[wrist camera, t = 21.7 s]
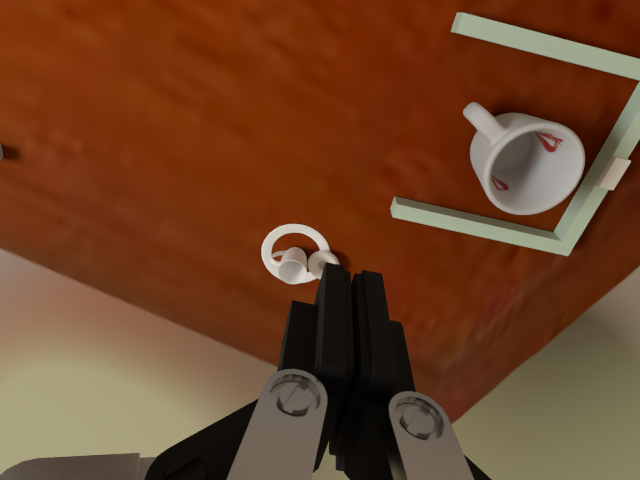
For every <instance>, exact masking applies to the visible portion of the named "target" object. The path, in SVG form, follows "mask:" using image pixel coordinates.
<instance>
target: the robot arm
mask: <svg viewBox="0 0 640 480" xmlns="http://www.w3.org/2000/svg"><path fill="white" fill-rule="evenodd" d="M328 441H329V454H330V455H335V456H336V470H339V471H344V473H345V474H346V475H347V477H348V478H349V479H350V480H491V479H490V478H489V477H488V476H487V475H486V474H485V473H484V472H483V471H481V470H480V469H479V468H478V467H477V466H476V465H475V464H474V463H473V462H472V461H471V460H469V459H468V458H467V457H466V456H465V455H464V454H463V452H462V449H461V447H460V445H459V442H458V440H457V437H456V435H455V433H454V430H453V428H452V426H451V423H450V421H449V419H448V417H447V415H446V413H445V412H444V410H443V409H442V408H441V407H440V406H439V405H438V404H437V403H436V402H435V401H433V400H432V399H431V398H429V397H427V396H425V395H423V394H421V393H417V392H416V391H415V386H414V381H413V376H412V371H411V366H410V361H409V356H408V351H407V346H406V341H405V336H404V331H403V327H402V324H401V323H400V322H396V321H391V320H389V314H388V308H387V301H386V295H385V289H384V283H383V277H382V274H380V273H375V272H371V271H366V270H363V271H362V272H361V274H357V273H355V274H354V277H353V280H352V283H351V276H350V272H347V271H344V266H342V265H338V264H333V263H328V262H326V263H325V265H324V268H323V272H322V276H321V279H320V283H319V287H318V290H317V294H316V298H315V301H314V305H313V304H308V303H303V302H298V301H293V300H292V302H291V306H290V310H289V314H288V318H287V322H286V327H285V331H284V336H283V341H282V347H281V352H280V358H279V364H278V370H277V372H276V373H274V374H273V375H272V376H271V377H269V379H268V380H267V381H266V383H265V385H264V387H263V390H262V392H261V395H260V397H259V399H257V400H255V401H253V402H252V403H250V404H248V405H246V406H244V407H243V408H241V409H239V410H237V411H236V412H233V413H232V414H230V415H228V416H226V417H225V418H223V419H221V420H219V421H217V422H215V423H214V424H212V425H210V426H208V427H206V428H204V429H203V430H201V431H199V432H198V433H195V434H194V435H192V436H190V437H188V438H186V439H185V440H183V441H181V442H179V443H177V444H176V445H174V446H172V447H170V448H169V449H167V450H165V451H164V452H163V453H161V454H160V455H159V456H157V457H150V458H140V453H129V454H111V455H91V456H72V457H54V458H37V459H32V460H27V461H23V462H21V463H19V464H17V465H15V466H13V467H11V468H9V469H7V470H6V471H5V472H3V473H2V474H1V475H0V480H311V478H312V473H313V472H315V471H316V470H317V469H318V468H319V465H320V463H321V460H322V458H323V455H324V452H325V450H326V447H327V444H328Z"/></svg>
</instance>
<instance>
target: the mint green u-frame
mask: <svg viewBox="0 0 640 480" xmlns="http://www.w3.org/2000/svg"><path fill="white" fill-rule="evenodd" d="M451 32H454V33H458V34H462V35H466V36H470V37H473V38H477V39H481V40H485V41H489V42H493V43H497V44H500V45H504V46H508V47H512V48H516V49H520V50H524V51H527V52H531V53H535V54H539V55H543V56H547V57H551V58H554V59H558V60H562V61H566V62H570V63H574V64H578V65H581V66H585V67H589V68H593V69H597V70H601V71H605V72H609V73H612V74H616V75H620V76H624V77H628V78H632V79H636V80H639V81H640V59H638V58H634V57H630V56H626V55H622V54H619V53H615V52H611V51H607V50H603V49H600V48H596V47H592V46H588V45H584V44H581V43H577V42H573V41H569V40H565V39H562V38H558V37H554V36H550V35H546V34H543V33H539V32H535V31H531V30H527V29H524V28H520V27H516V26H512V25H508V24H505V23H501V22H497V21H493V20H489V19H486V18H482V17H478V16H474V15H470V14H467V13H459V12H457V14H456V17H455V20H454V23H453V26H452V29H451ZM639 139H640V82H639V83H638V85H637V87H636V89H635V90H634V92H633V94H632V96H631V97H630V99H629V101H628V103H627V104H626V106H625V108H624V110H623V111H622V113H621V115H620V117H619V118H618V120H617V122H616V124H615V125H614V127H613V129H612V131H611V132H610V134H609V136H608V138H607V139H606V141H605V143H604V145H603V146H602V148H601V150H600V152H599V153H598V155H597V157H596V159H595V160H594V162H593V164H592V166H591V167H590V169H589V171H588V173H587V174H586V176H585V178H584V180H583V181H582V183H581V185H580V187H579V188H578V190H577V192H576V194H575V195H574V197H573V199H572V201H571V202H570V204H569V206H568V208H567V209H566V211H565V213H564V215H563V216H562V218H561V220H560V222H559V223H558V225H557V227H556V229H555V230H554V232H550V231H545V230H541V229H536V228H532V227H527V226H523V225H519V224H514V223H510V222H505V221H501V220H497V219H492V218H488V217H483V216H479V215H475V214H470V213H466V212H461V211H457V210H452V209H448V208H444V207H439V206H435V205H430V204H426V203H422V202H417V201H413V200H408V199H404V198H399V197H394V199H393V202H392V205H391V208H390V210H391V214H392V217H394V218H399V219H403V220H408V221H412V222H417V223H421V224H426V225H430V226H435V227H439V228H444V229H448V230H453V231H457V232H462V233H466V234H471V235H475V236H480V237H484V238H489V239H493V240H498V241H502V242H507V243H511V244H516V245H520V246H525V247H529V248H534V249H538V250H543V251H547V252H552V253H556V254H561V255H565V256H568V255H569V254H570V252H571V251H572V249H573V247H574V246H575V244H576V242H577V241H578V239H579V237H580V236H581V234H582V233H583V231H584V229H585V228H586V226H587V224H588V223H589V221H590V219H591V218H592V216H593V215H594V213H595V211H596V210H597V208H598V206H599V205H600V203H601V201H602V200H603V198H604V197H605V195H606V193H607V192H608V190H614V189H615V187H616V185H617V184H618V182H619V180H620V179H621V177H622V176H623V174H624V172H625V171H626V169H627V167H628V166H629V164H630V163H631V161H630V160H628V157H629V156H630V154H631V152H632V151H633V149H634V147H635V146H636V144H637V143H638V141H639Z"/></svg>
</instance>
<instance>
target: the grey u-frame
mask: <svg viewBox="0 0 640 480" xmlns="http://www.w3.org/2000/svg"><path fill="white" fill-rule="evenodd" d="M1 159H3V152H2V146H1V145H0V160H1Z"/></svg>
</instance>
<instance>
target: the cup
mask: <svg viewBox="0 0 640 480" xmlns="http://www.w3.org/2000/svg"><path fill="white" fill-rule="evenodd" d="M463 115H464V116H465V117H466V118H467V119H468V120H469V121H470V122H471V123H472V124H473V125H474V126H475V128H476V129H477V130H478V131H477V132H476V134H475V136H474V138H473V140H472V143H471V147H470V158H471V163H472V166H473V168H474V170H475V172H476V174H477V176H478V178H479V180H480V182H481V185H482V187H483V189H484V191H485V193H486V195H487V196H488V198H489V199H490V201H491V202H492V203H493V204H494V205H495V206H497V207H498V208H500V209H501V210H503V211H505V212H508V213H511V214H517V215H530V214H536V213H540V212H543V211H546V210H548V209H550V208H552V207H554V206H556V205H557V204H559V203H560V202H561V201H563V200H564V199H565V198H566V197H567V196H568V195H569V194H570V193H571V192H572V191H573V190H574V188H575V187H576V186H577V184H578V182H579V180H580V178H581V176H582V173H583V170H584V166H585V152H584V148H583V145H582V142H581V141H580V139H579V138H578V136H577V135H576V134H575V133H574V132H573V131H572V130H570V129H569V128H567V127H565V126H564V125H561V124H558V123H555V122H551V121H548V120H544V119H541V118H537V117H533V116H530V115H526V114H522V113H505V114H501V115H498V116H496V117H493V116H492V115H491V114H490V113H489V112H488V111H487V110H486V109H484V108H483V107H482V106H481V105H479V104H478V103H476V102H472V103H470V104H469V105H468V106H467V107H466V108H465V109H464V110H463Z"/></svg>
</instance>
